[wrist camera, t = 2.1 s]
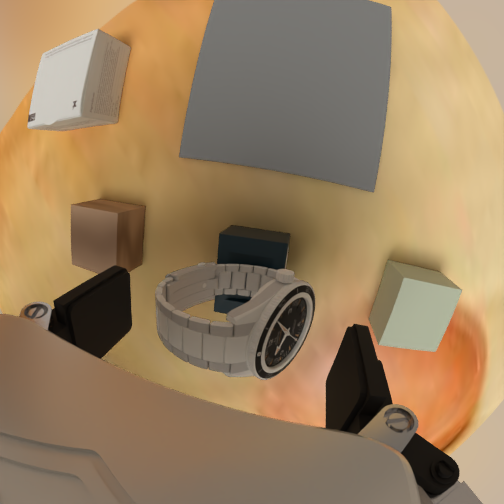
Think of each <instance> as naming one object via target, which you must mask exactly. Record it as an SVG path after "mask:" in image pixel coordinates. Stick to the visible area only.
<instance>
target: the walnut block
mask: <svg viewBox="0 0 504 504" xmlns="http://www.w3.org/2000/svg"><path fill="white" fill-rule="evenodd" d="M145 207H146V206H140V205H134V204H128V203H122V202H116V201H109V200H103V199H98V200H93V201H88V202H82V203H77V204H72V205H71V251H72V264H73V265H76V266H79V267H81V268H84V269H87V270H90V271H93V272H96V273H99V274H100V273H101V272H103V271H105V270H107V269H108V268H110V267H112V266H114V265H116V266H120V267H123V268H126V269H127V271H128V272H130V271H131V270H133V269H135V268H136V267H138V266H140V265H142V253H143V234H144V219H145Z"/></svg>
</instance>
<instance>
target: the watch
mask: <svg viewBox="0 0 504 504" xmlns="http://www.w3.org/2000/svg"><path fill="white" fill-rule="evenodd" d="M289 241H290V233H283V232H276V231H270V230H263V229H256V228H249V227H242V226H234V225H231V226H230V227H228V228H227V229H225V230H224V231H222V232H221V233H220V234H219V245H218V259H217V264H215V263H214V262H209V263H199V264H198V265H194V266H190V267H186V268H183V269H180V270H177V271H174V272H172V273H169V274H167V275H166V277H165V279H164V280H163V281H161V282H160V283H159V284H158V286H157V288H156V291H155V296H156V319H157V330H158V335H159V337H160V339H161V341H162V342H163V344H164V345H165V347H166V348H167V349H168V350H169V351H170V352H172V353H173V354H174V355H176V356H177V357H178V358H180V359H182V360H183V361H185V362H189V363H190V364H192V365H195V366H197V367H200V368H204V369H208V367H209V370H213V371H217V372H222V373H224V374H225V375H226V376H228V377H249V376H256V377H257V378H259V379H261V380H267V379H271V378H273V377H274V376H276V375H278V374H279V373H280V372H282V371H283V370H284V369H285V368H286V367H287V366H288V365H289V364H290V362H291V361H292V360H293V359H294V357H295V356H296V355H297V353H298V351H299V350H300V348H301V347H302V345H303V343H304V341H305V339H306V337H307V334H308V332H309V329H310V327H311V323H312V320H313V316H314V310H315V293H314V290H313V288H312V287H311V285H310V284H309V283H308V282H305V281H303V280H299V279H297V278H295V277H294V274H295V273H294V272H293V271H291V270H288V269H286V264H287V257H288V251H289ZM213 299H215V303H214V311H215V312H220V313H225V314H227V317H226V320H227V321H229V322H219V321H213V322H211V324H210V320H208V319H203V318H198V317H190V315H189V314H187V313H184V312H182V311H184V310H186V309H188V308H190V307H192V306H194V305H197V304H200V303H203V302H206V301H210V300H213ZM230 322H231V323H230Z"/></svg>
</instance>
